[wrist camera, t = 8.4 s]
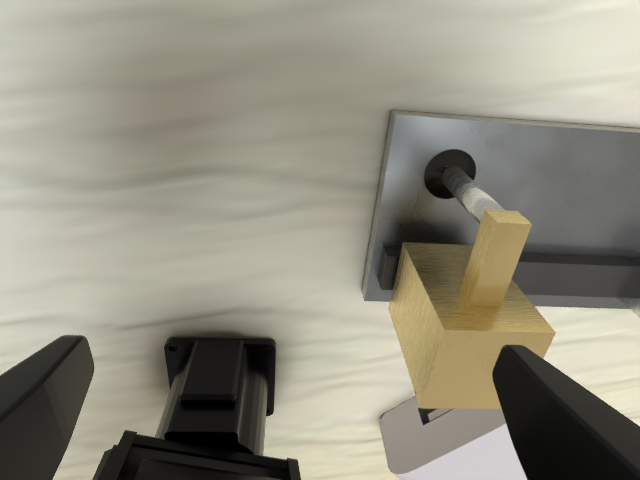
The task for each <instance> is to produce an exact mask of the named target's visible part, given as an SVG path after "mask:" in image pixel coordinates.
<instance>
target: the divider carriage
mask: <svg viewBox="0 0 640 480" xmlns="http://www.w3.org/2000/svg"><path fill="white" fill-rule="evenodd" d="M441 180H442V183H443V184H444V185H445V186H446V188H447V189H448V190H449V191H450V192H451V193H452V194H453V196H454V197H455V198H456V199H457V200H458V201H459V202H460V204H461V205H462V206H463V207H464V208H465V209H466V210H467V212H468V213H469V214H470V215H471V216H472V217H473V218H474V220H475V221H476V222H477V223H478V224H479V225H480V227H479V230H478V234H477V237H476V240H475V243H474V245H454V244H431V243H408V242H403V244H402V249H401V253H400V258H399V263H398V268H397V273H396V277H395V282H394V287H393V292H392V297H391V301H390V306H389V311H390V314H391V318H392V321H393V324H394V327H395V330H396V333H397V336H398V340H399V343H400V346H401V349H402V352H403V355H404V358H405V362H406V365H407V368H408V371H409V374H410V377H411V380H412V384H413V387H414V390H415V393H416V396H417V399H418V402H419V405H420V408H429V409H501V405H500V402H499V399H498V396H497V393H496V389H495V386H494V383H493V378H492V372H493V368H494V365H495V363H496V360H497V358H498V356H499V353H500V351H501V348H502V347H503V346H504V345H523V346H525V347H527V348H528V349H530V350H531V351H532V352H534V353H535V354H537V355H538V356H540V357H541V358H542V359H543V358H544V356H545V354H546V352H547V350H548V347H549V345H550V343H551V341H552V339H553V337H554V335H555V333H556V332H555V331H554V330H553V329H552V328H551V326H550V325H549V324H548V323H547V321H546V320H545V319H544V318H543V317H542V315H541V314H540V313H539V312H538V310H537V309H536V308H535V307H534V306H533V304H532V303H531V302H530V301H529V300H528V298H527V297H526V296H525V295H524V293H523V292H522V291H521V290H520V289H519V287H518V286H517V285H516V284H515V282H514V281H513V280H512V276H513V273H514V271H515V268H516V266H517V263H518V260H519V258H520V255H521V252H522V250H523V247H524V245H525V242H526V239H527V237H528V234H529V231H530V229H531V226H532V224H531V223H530V222H529V221H528V220H527V219H526V218H525V217H523V216H522V215H521V214H520V213H519V212H518V211H505V210H504V209H503V208H502V207H501V206H500V205H499V204H498V203H497V202H496V201H495V200H494V199H493V198H491V197H490V196H489V195H488V194H487V193H486V192H485V191H484V190H483V189H482V188H481V187H480V186H479V185H478V184H476V183H475V182H474V181H473V180H472V179H471V178H470V177H469V176H468V175H467V174H466V173H465V172H464V171H463V170H461V169H460V168H459V167H457V166H452V167H449V168H447V169H446V170H445V171H444V172H443V174H442V177H441Z"/></svg>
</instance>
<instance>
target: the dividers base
mask: <svg viewBox="0 0 640 480" xmlns="http://www.w3.org/2000/svg"><path fill="white" fill-rule="evenodd" d="M452 166H457V167H459V168H460V169H461V170H463V171H464V172H465V173H466V174H467V175H468V176H469V177H470V178H471V179H472V180H473V181H474V182H475V183H476V184H478V185H479V186H480V187H481V188H482V189H483V190H484V191H485V192H486V193H487V194H488V195H489V196H490V197H491V198H493V199H494V200H495V201H496V202H497V203H498V204H499V205H500V206H501V207H502V208H503V209H504V210H505V211H518V212H519V213H520V214H521V215H522V216H523V217H525V218H526V219H527V220H528V221H529V222H530V223H531V224H532V226H531V229H530V231H529V234H528V237H527V239H526V242H525V245H524V247H523V250H522V252H521V255H520V258H519V260H518V263H517V266H516V268H515V271H514V273H513V276H512V280H513V281H514V282H515V284H516V285H517V286H518V287H519V289H520V290H521V291H522V292H523V293H524V295H525V296H526V297H527V298H528V300H529V301H530V302H531V303H532V304H533V306H551V307H584V308H616V309H631V310H632V311H633V312H634V313H635V314H636V315H638V316H639V317H640V128H628V127H615V126H601V125H588V124H574V123H560V122H547V121H533V120H520V119H506V118H492V117H479V116H465V115H452V114H438V113H424V112H411V111H397V110H391V113H390V119H389V125H388V131H387V137H386V144H385V150H384V156H383V162H382V168H381V174H380V180H379V187H378V193H377V199H376V205H375V211H374V217H373V224H372V230H371V236H370V242H369V248H368V254H367V261H366V267H365V273H364V279H363V285H362V293H363V297H364V301H389V302H390V301H391V297H392V292H393V287H394V282H395V277H396V273H397V268H398V263H399V258H400V253H401V249H402V244H403V242H408V243H431V244H454V245H474V243H475V240H476V237H477V234H478V230H479V227H480V225H479V224H478V223H477V222H476V221H475V220H474V218H473V217H472V216H471V215H470V214H469V213H468V212H467V210H466V209H465V208H464V207H463V206H462V205H461V204H460V202H459V201H458V200H457V199H456V198H455V197H454V196H453V194H452V193H451V192H450V191H449V190H448V189H447V188H446V186H445V185H444V184H443V183H442V180H441V177H442V174H443V172H444V171H445V170H446V169H447V168H449V167H452Z"/></svg>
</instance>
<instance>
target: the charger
mask: <svg viewBox="0 0 640 480" xmlns="http://www.w3.org/2000/svg"><path fill="white" fill-rule="evenodd" d="M419 407H420V405H419V402H418V399H417V396H414V397H412V398H411V399H409V400H407V401H405V402H404V403H402V404H400V405H398V406H396V407H395V408H393V409H391V410H389V411H388V412H386V413H385V414H384V415H383V416H382V418H381V420H380V429H381V434H382V439H383V443H384V448H385V453H386V458H387V462H388V467H389V469H390V471H391V472H392V473H394V474H395V475H396V476H398V477H399V478H400V479H402V480H527V478H526V475H525V473H524V471H523V468H522V466H521V464H520V461H519V459H518V456H517V454H516V451H515V449H514V446H513V443H512V440H511V438H510V435H509V431H508V428H507V425H506V422H505V418H504V415H503V412H502V409H429V408H419Z"/></svg>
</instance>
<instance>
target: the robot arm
mask: <svg viewBox="0 0 640 480" xmlns="http://www.w3.org/2000/svg"><path fill="white" fill-rule="evenodd" d="M172 345H173V346H176V347H173V346H172ZM266 347H269V349H266ZM164 350H165V357H166V364H167V370H168V377H169V384H170V393H169V396H168V399H167V402H166V405H165V408H164V411H163V414H162V418H161V421H160V424H159V427H158V430H157V433H156V436H155V437H150V436H144V435H138V434H136V433H137V432H133V431H127V430H125V432H124V434H123V436H122V438H121V440H120V442H119V444H118V445H114V446H113V448H112V449H110V450H108V451H105V452H104V455H103V457H102V459H101V461H100V464H99V466H98V468H97V471H96V473H95V475H94V477H93V480H301V477H300V472H299V466H298V460H296V459H290V458H287V459H286V460H285V459H279V458H273V457H267V456H263V449H264V435H265V421H266V416H270V415H272V414H273V412H274V388H275V361H276V343H275V342H274V341H272V340H268V339H224V338H178V337H173V338H169V339H168V340H167V341H166V344H165V347H164ZM93 373H94V362H93V358H92V354H91V351H90V347H89V343H88V340H87V338H86V337H85V336H82V335H64V336H61V337H60V338H58V339H56V340H55V341H53V342H52V343H50V344H48V345H47V346H45V347H44V348H42V349H41V350H39V351H38V352H36V353H34V354H33V355H31V356H30V357H28V358H27V359H25V360H24V361H22V362H20V363H19V364H17V365H16V366H14V367H13V368H11V369H9V370H8V371H6V372H5V373H3V374H2V375H0V480H52V479H53V477H54V475H55V473H56V471H57V468H58V466H59V464H60V462H61V460H62V458H63V456H64V453H65V451H66V449H67V447H68V444H69V441H70V439H71V436H72V433H73V430H74V428H75V425H76V422H77V419H78V416H79V414H80V411H81V408H82V405H83V402H84V399H85V397H86V394H87V391H88V388H89V385H90V382H91V380H92V377H93ZM492 378H493V383H494V386H495V389H496V393H497V396H498V399H499V402H500V405H501V409H502V412H503V415H504V418H505V422H506V425H507V428H508V431H509V435H510V438H511V440H512V443H513V446H514V449H515V451H516V454H517V456H518V459H519V461H520V464H521V466H522V468H523V471H524V473H525V475H526V478H527V480H640V426H638V425H637V424H635V423H634V422H633V421H631V420H630V419H628V418H627V417H625V416H624V415H623V414H621V413H620V412H618V411H617V410H615V409H614V408H613V407H611V406H610V405H608V404H607V403H605V402H604V401H603V400H601V399H600V398H598V397H597V396H595V395H594V394H593V393H591V392H590V391H588V390H587V389H585V388H584V387H583V386H581V385H580V384H578V383H577V382H575V381H574V380H572V379H571V378H570V377H568V376H567V375H565V374H564V373H562V372H561V371H560V370H558V369H557V368H555V367H554V366H552V365H551V364H550V363H548V362H547V361H545V360H544V359H542V358H541V357H540V356H538V355H537V354H535V353H534V352H532V351H531V350H530V349H528V348H527V347H525V346H523V345H504V346H503V347H502V348H501V351H500V353H499V356H498V358H497V360H496V363H495V365H494V368H493V372H492Z"/></svg>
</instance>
